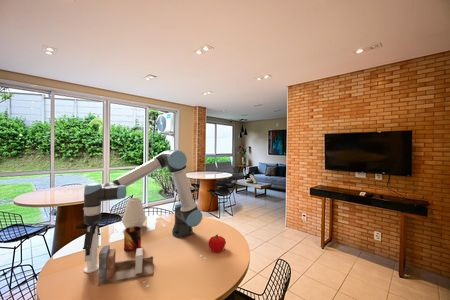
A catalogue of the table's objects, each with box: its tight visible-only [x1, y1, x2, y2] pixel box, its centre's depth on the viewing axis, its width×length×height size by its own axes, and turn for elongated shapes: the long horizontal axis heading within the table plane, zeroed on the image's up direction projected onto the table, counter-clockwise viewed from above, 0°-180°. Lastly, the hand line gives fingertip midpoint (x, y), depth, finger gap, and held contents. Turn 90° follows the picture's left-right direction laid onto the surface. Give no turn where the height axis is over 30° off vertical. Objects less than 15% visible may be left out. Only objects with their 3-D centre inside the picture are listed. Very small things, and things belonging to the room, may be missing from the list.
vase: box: [121, 197, 147, 229], centre depth 159 cm, size 18×17×23 cm
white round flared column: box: [83, 226, 99, 274], centre depth 105 cm, size 7×7×25 cm
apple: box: [207, 234, 226, 254], centre depth 126 cm, size 11×11×10 cm
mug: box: [123, 226, 142, 253], centre depth 126 cm, size 10×14×12 cm
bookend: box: [135, 247, 144, 274], centre depth 103 cm, size 3×8×9 cm, turn 20°
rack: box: [97, 244, 154, 287], centre depth 101 cm, size 24×11×14 cm, turn 110°
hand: (92, 254), depth 105 cm, fingers open, 13 cm apart
